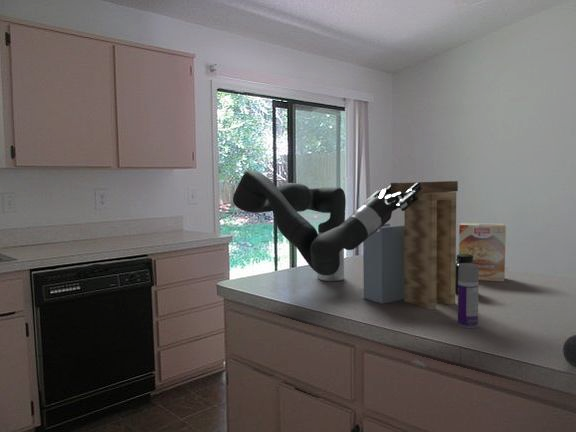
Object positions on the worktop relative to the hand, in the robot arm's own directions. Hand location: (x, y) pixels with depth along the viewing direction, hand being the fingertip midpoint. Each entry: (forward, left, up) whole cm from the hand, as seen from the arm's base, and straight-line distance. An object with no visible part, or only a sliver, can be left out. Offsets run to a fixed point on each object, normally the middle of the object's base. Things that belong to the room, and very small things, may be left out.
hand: (407, 185), depth 125 cm
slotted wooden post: (0, +9, -34) cm, 35 cm away
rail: (0, +7, -2) cm, 7 cm away
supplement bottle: (-1, +26, -34) cm, 43 cm away
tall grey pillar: (-11, +2, -34) cm, 36 cm away
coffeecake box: (-11, +48, -34) cm, 60 cm away
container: (+19, +1, -34) cm, 39 cm away
